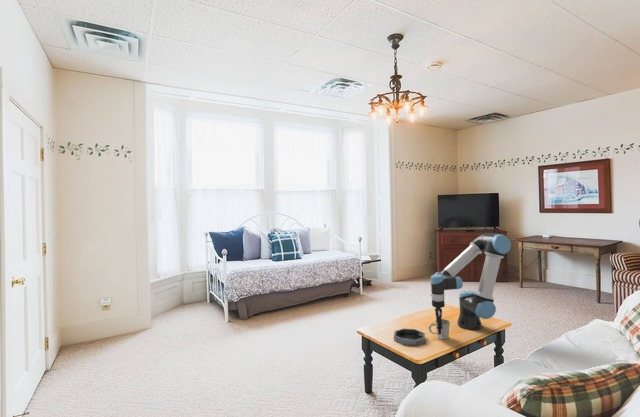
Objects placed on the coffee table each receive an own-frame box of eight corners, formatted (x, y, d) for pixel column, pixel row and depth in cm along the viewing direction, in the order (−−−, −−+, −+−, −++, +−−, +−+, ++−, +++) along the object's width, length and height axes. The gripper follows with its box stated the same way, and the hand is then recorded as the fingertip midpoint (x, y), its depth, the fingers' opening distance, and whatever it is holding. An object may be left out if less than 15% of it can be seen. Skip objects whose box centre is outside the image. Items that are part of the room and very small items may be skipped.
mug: (451, 340, 204) (450, 323, 204) (430, 339, 206) (429, 323, 206) (449, 334, 212) (448, 319, 212) (428, 334, 215) (427, 318, 214)
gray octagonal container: (424, 334, 215) (424, 329, 215) (425, 346, 197) (425, 341, 197) (395, 332, 220) (395, 327, 220) (393, 344, 202) (393, 339, 202)
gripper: (431, 295, 219) (432, 330, 220) (432, 304, 201) (434, 342, 201) (443, 295, 217) (444, 331, 218) (445, 304, 199) (447, 343, 199)
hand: (439, 336), depth 209 cm, fingers closed on mug, 6 cm apart
